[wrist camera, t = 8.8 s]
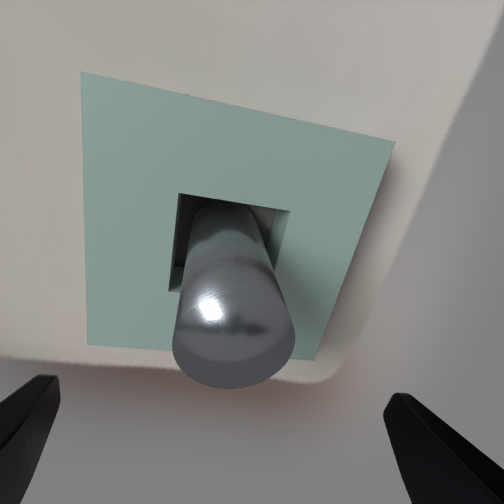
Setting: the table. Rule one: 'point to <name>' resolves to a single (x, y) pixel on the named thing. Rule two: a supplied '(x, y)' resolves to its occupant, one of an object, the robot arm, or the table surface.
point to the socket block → (218, 187)
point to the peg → (230, 303)
